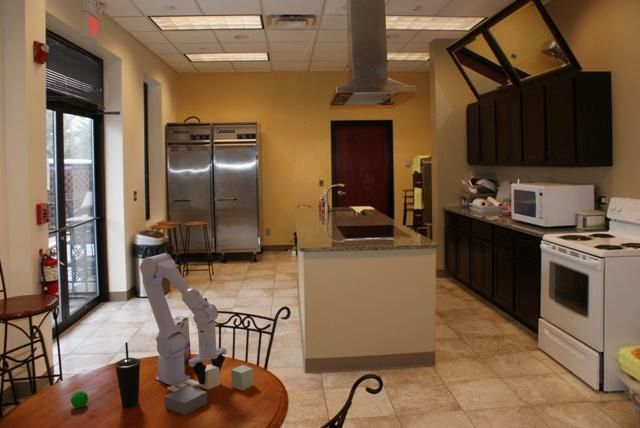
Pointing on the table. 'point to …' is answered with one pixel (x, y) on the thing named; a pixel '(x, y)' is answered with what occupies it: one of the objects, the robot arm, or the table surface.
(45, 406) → the table surface
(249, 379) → the sage block
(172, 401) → the gray block
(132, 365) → the drinking cup
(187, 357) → the candy bar box
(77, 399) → the green ball
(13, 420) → the table surface
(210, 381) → the cream block
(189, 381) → the tile
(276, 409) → the table surface
